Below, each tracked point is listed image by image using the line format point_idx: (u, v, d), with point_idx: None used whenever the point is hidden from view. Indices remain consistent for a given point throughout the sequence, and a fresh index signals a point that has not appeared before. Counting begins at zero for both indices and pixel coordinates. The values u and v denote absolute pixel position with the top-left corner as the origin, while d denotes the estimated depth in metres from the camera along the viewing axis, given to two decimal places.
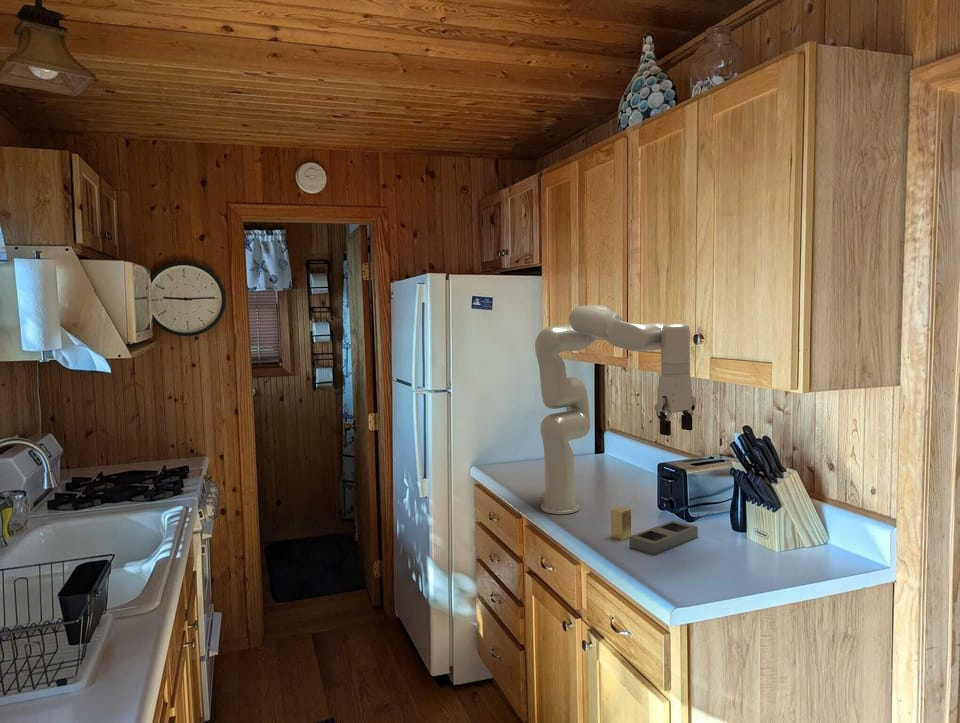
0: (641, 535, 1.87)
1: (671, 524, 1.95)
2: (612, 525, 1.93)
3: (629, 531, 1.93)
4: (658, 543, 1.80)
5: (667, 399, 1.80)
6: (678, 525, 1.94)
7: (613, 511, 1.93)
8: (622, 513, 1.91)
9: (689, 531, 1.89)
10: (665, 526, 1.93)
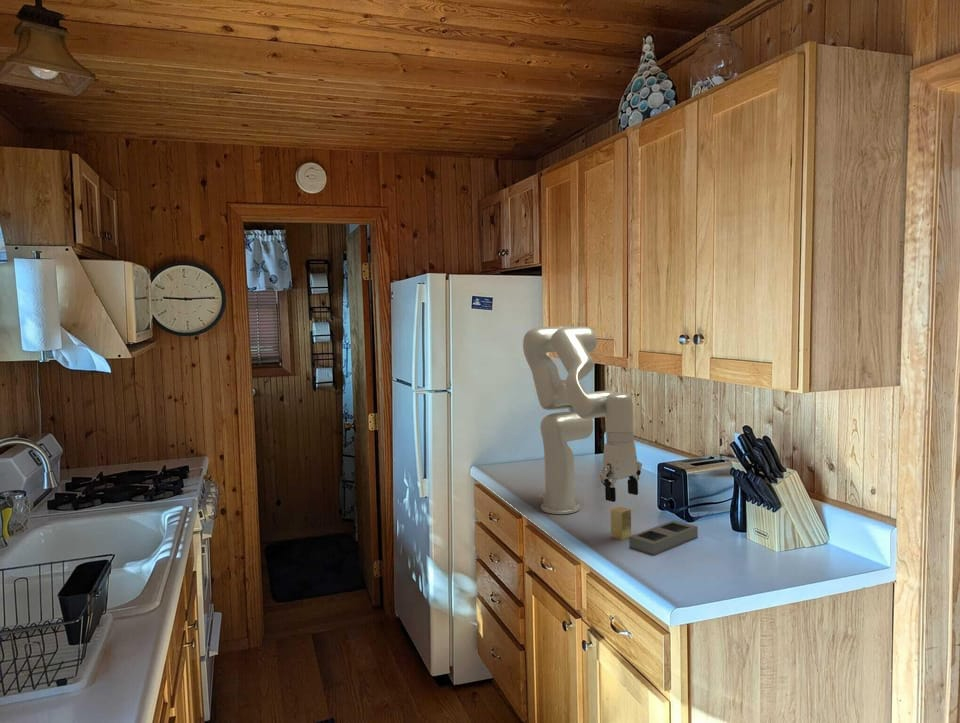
0: (641, 535, 1.87)
1: (671, 524, 1.95)
2: (612, 525, 1.93)
3: (629, 531, 1.93)
4: (658, 543, 1.80)
5: (611, 467, 1.88)
6: (678, 525, 1.94)
7: (613, 511, 1.93)
8: (622, 513, 1.90)
9: (689, 531, 1.89)
10: (665, 526, 1.93)
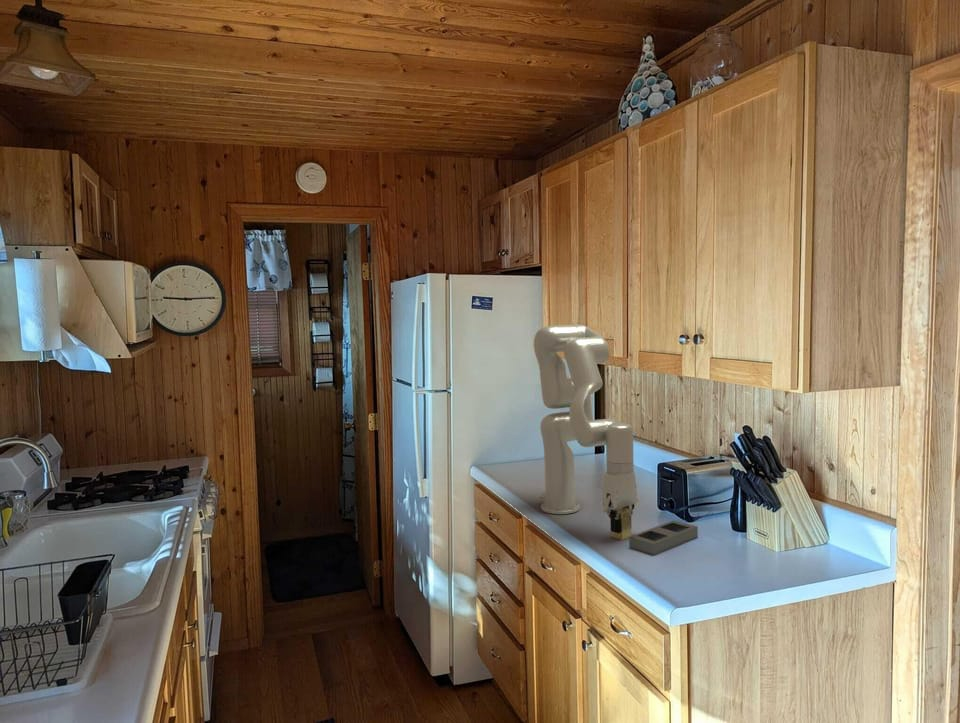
0: (641, 535, 1.87)
1: (671, 524, 1.95)
2: None
3: (629, 531, 1.93)
4: (658, 543, 1.80)
5: (611, 497, 1.89)
6: (678, 525, 1.94)
7: (613, 511, 1.93)
8: (622, 513, 1.90)
9: (689, 531, 1.89)
10: (665, 526, 1.93)
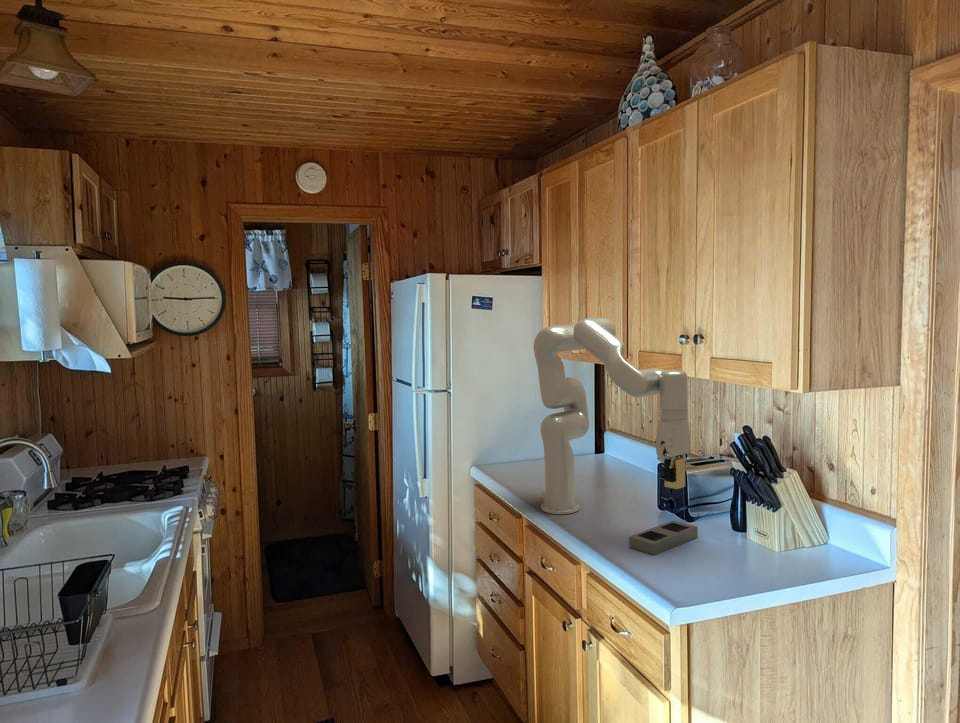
0: (641, 535, 1.87)
1: (671, 524, 1.95)
2: None
3: (683, 481, 1.89)
4: (658, 543, 1.80)
5: (665, 445, 1.85)
6: (678, 525, 1.94)
7: None
8: (677, 462, 1.87)
9: (689, 531, 1.89)
10: (665, 526, 1.93)
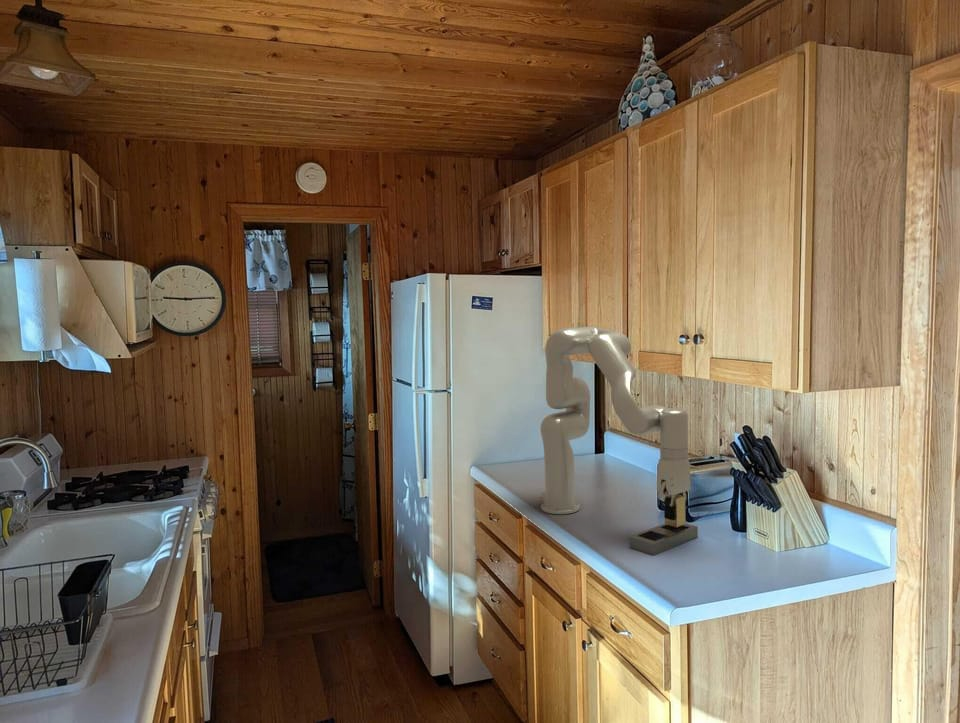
0: (641, 535, 1.87)
1: None
2: None
3: (684, 518, 1.90)
4: (658, 543, 1.80)
5: (666, 483, 1.86)
6: None
7: None
8: (677, 500, 1.88)
9: (689, 531, 1.89)
10: (665, 526, 1.93)
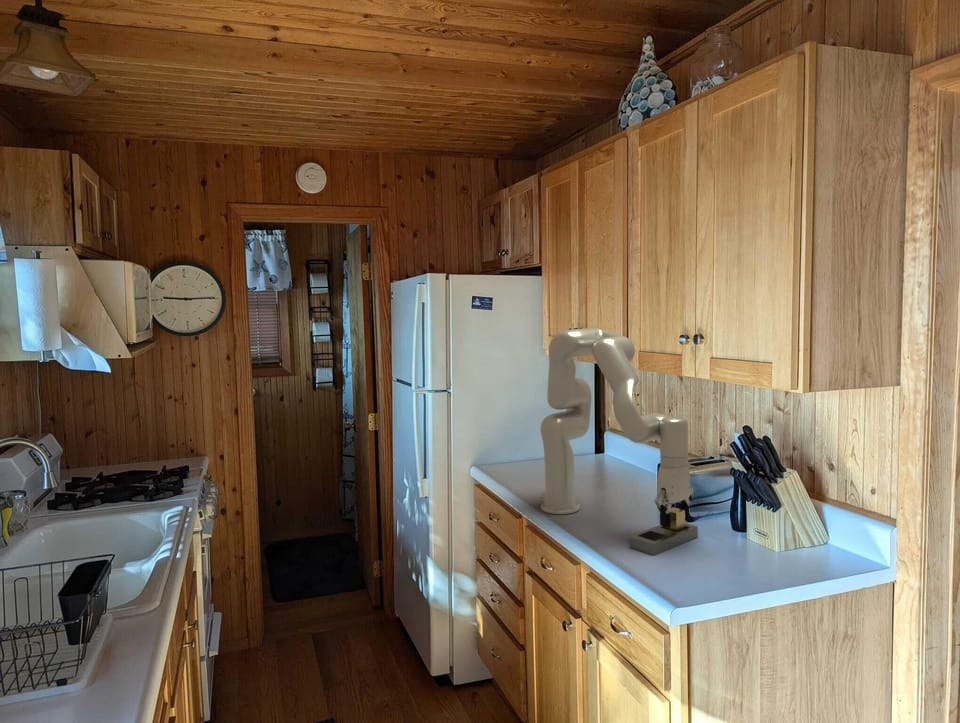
0: (641, 535, 1.87)
1: None
2: None
3: None
4: (658, 543, 1.80)
5: (666, 491, 1.86)
6: None
7: None
8: (677, 514, 1.88)
9: (689, 531, 1.89)
10: None
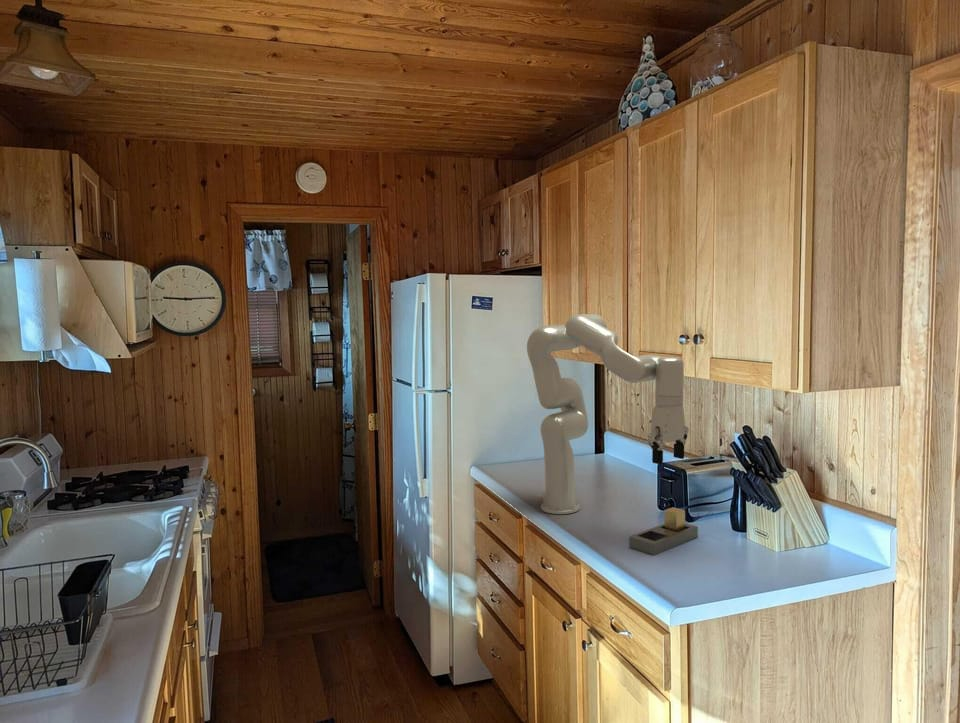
0: (641, 535, 1.87)
1: None
2: (666, 526, 1.91)
3: None
4: (658, 543, 1.80)
5: (660, 430, 1.88)
6: None
7: (667, 512, 1.90)
8: (677, 514, 1.88)
9: (689, 531, 1.89)
10: None
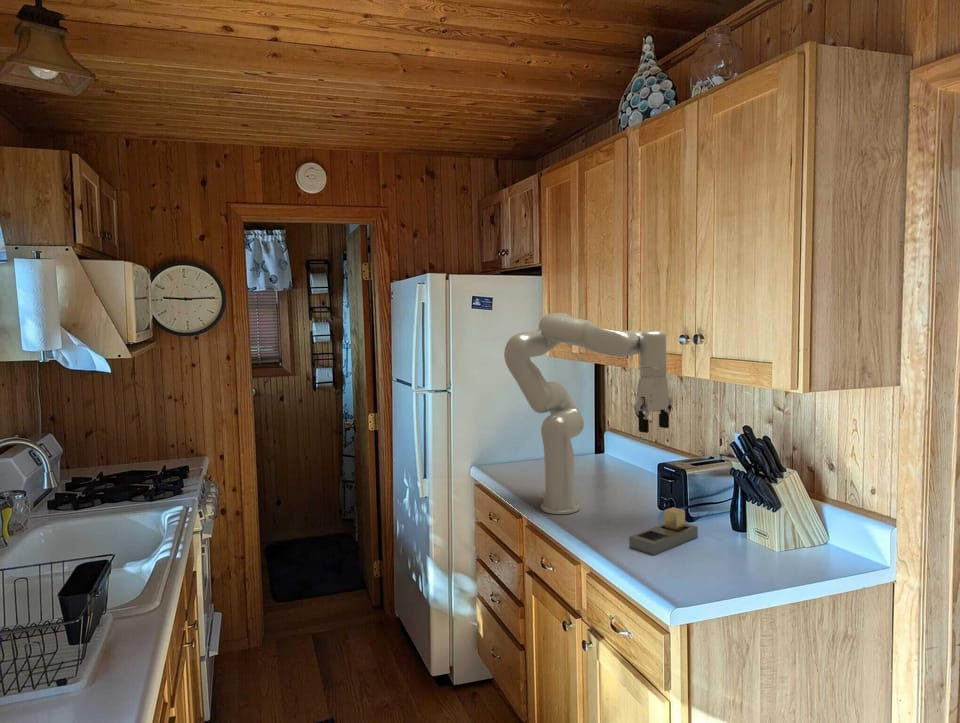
0: (641, 535, 1.87)
1: None
2: (666, 526, 1.91)
3: None
4: (658, 543, 1.80)
5: (645, 400, 1.98)
6: None
7: (667, 512, 1.90)
8: (677, 514, 1.88)
9: (689, 531, 1.89)
10: None
